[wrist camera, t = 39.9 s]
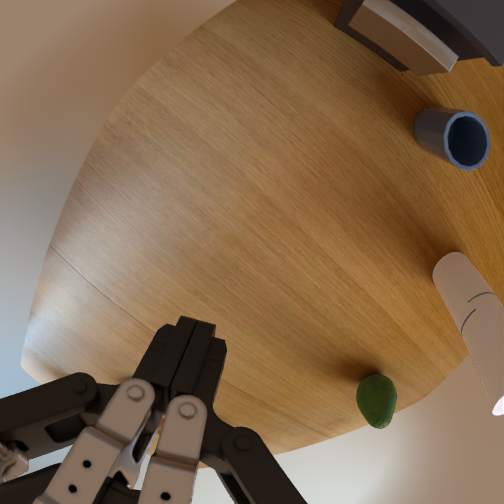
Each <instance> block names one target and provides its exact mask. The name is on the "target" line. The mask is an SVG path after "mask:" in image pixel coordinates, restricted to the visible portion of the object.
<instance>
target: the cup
mask: <svg viewBox="0 0 504 504" xmlns="http://www.w3.org/2000/svg"><path fill="white" fill-rule="evenodd" d="M414 133H415V137H416V140H417V142H418V143H419V145H420V146H421V147H422V148H423V149H424V150H425V151H427V152H429V153H430V154H432V155H434V156H436V157H438V158H440V159H442V160H444V161H446V162H448V163H449V164H451V165H453V166H455V167H457V168H459V169H462V170H467V171H471V170H473V169H476V168H479V167H480V166H481V165H482V164H483V162H484V161H485V160H486V158H487V156H488V152H489V149H490V137H489V132H488V130H487V127H486V125H485V123H484V121H483V120H482V119H481V118H479V117H478V116H477V115H476V114H475V113H472V112H468V111H464V110H457V109H450V108H443V107H427V108H425V109H423V110H422V111H421V112H420V113H419V114H418V115H417V117H416V120H415V123H414Z"/></svg>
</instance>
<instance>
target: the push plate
mask: <svg viewBox="0 0 504 504" xmlns="http://www.w3.org/2000/svg"><path fill="white" fill-rule="evenodd" d="M348 25H349V26H350V27H352V28H353V29H355V30H356V31H358V32H360V33H361V34H363V35H364V36H366V37H367V38H369V39H370V40H372V41H373V42H374V43H376V44H377V45H379V46H380V47H381V48H383V49H384V50H386V51H387V52H388V53H390V54H391V55H392V56H394V57H395V58H396V59H398V60H399V61H400V62H401V63H403V64H404V65H405V66H406V67H408V68H409V69H410V70H411V71H413V72H414V73H415V74H416V75H417V76H420V75H427V74H434V73H443V72H450V70H451V69H452V67H453V66H454V64H455V62H456V61H457V59H458V55H456V54H455V53H454V52H453V51H452V50H451V49H450V48H449V47H448V46H447V45H446V44H445V43H444V42H442V41H441V40H440V39H439V38H438V37H437V36H436V35H434V34H433V33H432V32H431V31H430V30H429V29H427V28H426V27H425V26H424V25H422V24H421V23H420V22H419V21H417V20H416V19H415V18H414V17H412V16H411V15H410V14H408V13H407V12H406V11H404V10H403V9H401V8H400V7H399V6H397V5H396V4H394V3H393V2H391V1H390V0H364V2H363V3H362V5H361V6H360V8H359V9H358V11H357V12H356V14H355V15H354V17H353V18H352V20H351V21H350V23H349V24H348Z"/></svg>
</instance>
